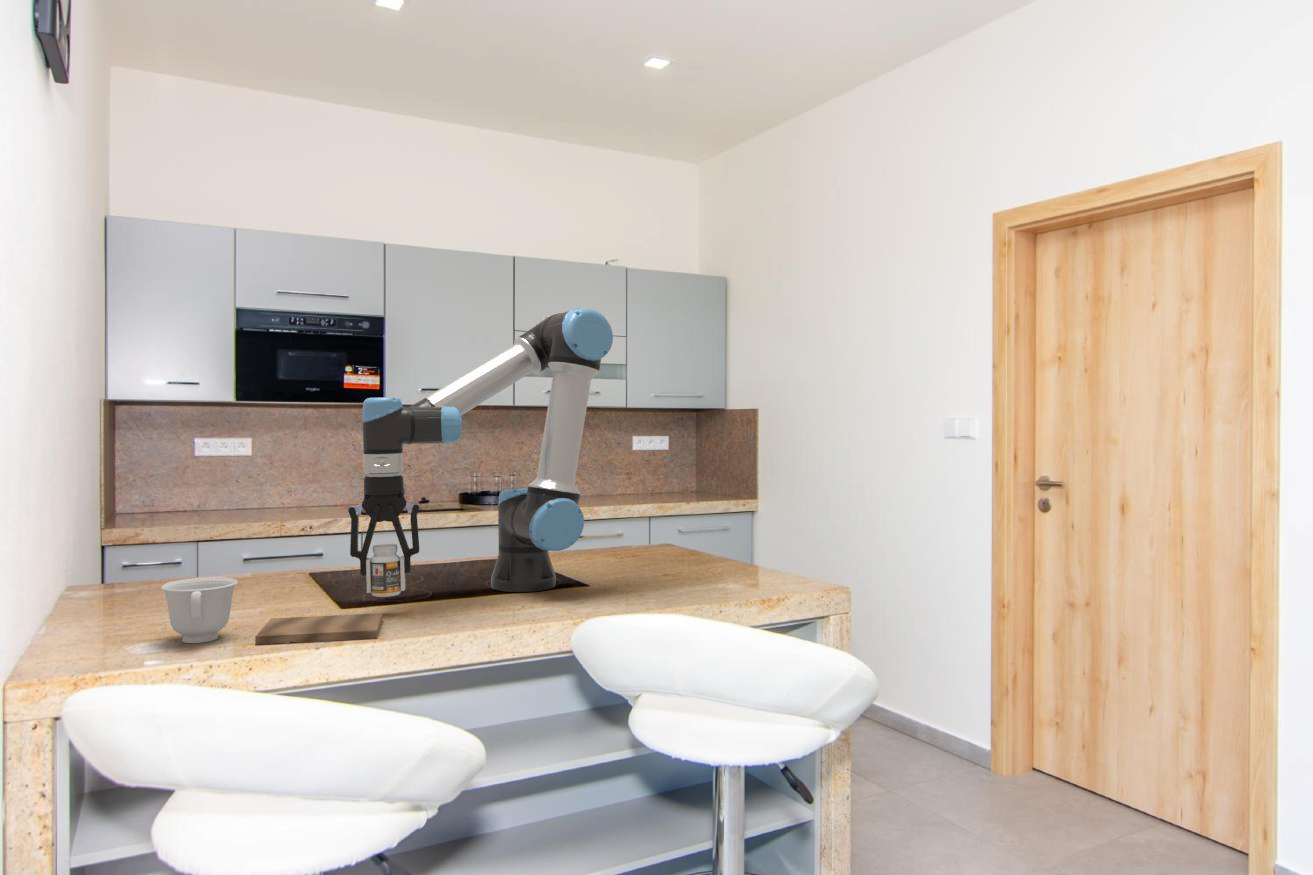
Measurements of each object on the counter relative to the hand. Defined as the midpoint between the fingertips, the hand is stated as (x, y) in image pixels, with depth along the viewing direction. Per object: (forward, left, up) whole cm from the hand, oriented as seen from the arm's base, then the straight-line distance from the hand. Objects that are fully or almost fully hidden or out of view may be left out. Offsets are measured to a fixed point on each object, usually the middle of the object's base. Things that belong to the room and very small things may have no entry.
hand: (386, 590), depth 172 cm
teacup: (+31, +14, -5) cm, 34 cm away
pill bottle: (0, 0, -1) cm, 1 cm away
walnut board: (+11, +12, -5) cm, 17 cm away
